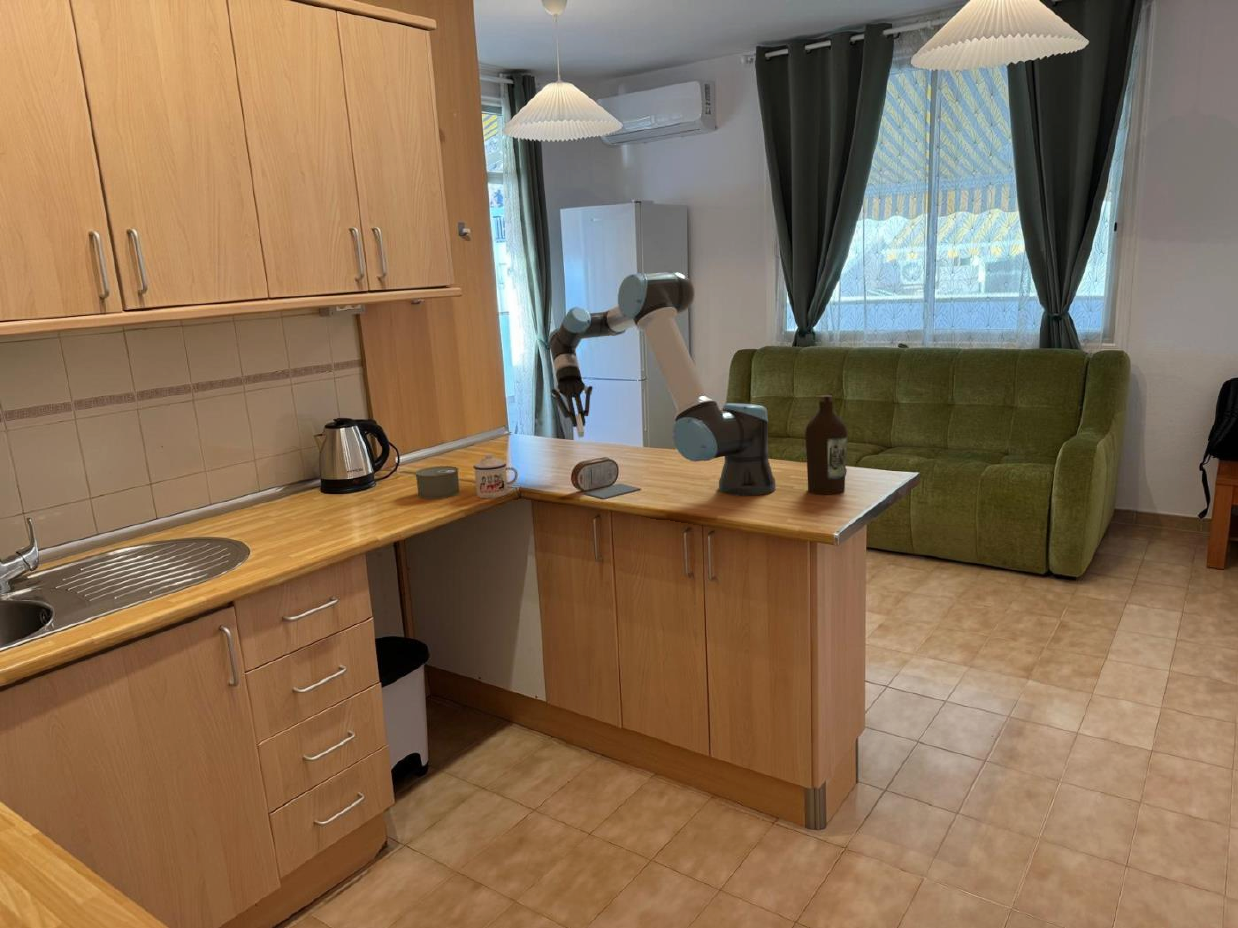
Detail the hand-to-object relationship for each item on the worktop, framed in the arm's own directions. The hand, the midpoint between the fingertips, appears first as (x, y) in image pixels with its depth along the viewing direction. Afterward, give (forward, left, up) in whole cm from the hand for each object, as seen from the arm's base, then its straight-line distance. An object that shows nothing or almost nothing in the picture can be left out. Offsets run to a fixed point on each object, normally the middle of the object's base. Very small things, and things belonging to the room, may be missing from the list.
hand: (581, 434), depth 256 cm
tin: (-14, +6, -13) cm, 20 cm away
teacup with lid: (+3, +28, -13) cm, 31 cm away
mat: (-21, +6, -13) cm, 25 cm away
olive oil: (-64, -32, -13) cm, 73 cm away
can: (+17, +39, -13) cm, 45 cm away
